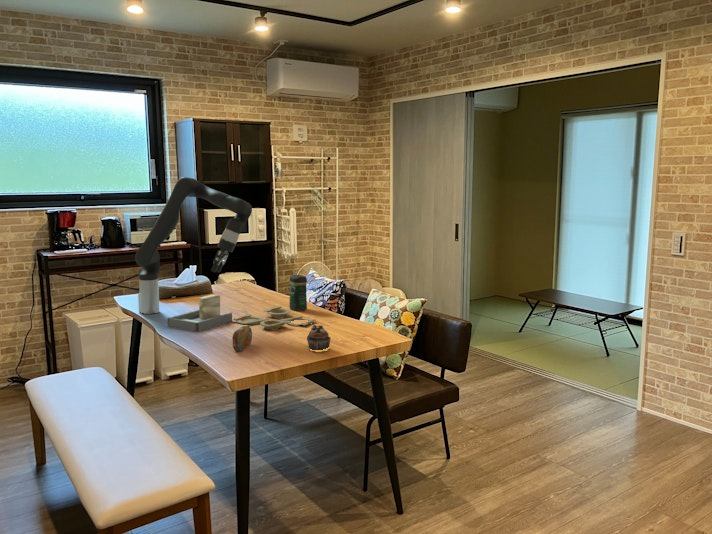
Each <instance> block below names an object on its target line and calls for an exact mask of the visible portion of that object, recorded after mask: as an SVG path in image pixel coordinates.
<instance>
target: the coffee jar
mask: <svg viewBox="0 0 712 534" xmlns="http://www.w3.org/2000/svg"><path fill="white" fill-rule="evenodd" d="M307 278H308V277H306V276H305V275H300V274H291V275H290V276H289V280H288V281H289V305H288V306H289V310H293V311H295V312H296V311H300V310H303V311H306V310H307V309H308V303H307V302H308V298H307V285H308V280H307ZM305 309H306V310H305Z"/></svg>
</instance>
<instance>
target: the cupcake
mask: <svg viewBox="0 0 712 534" xmlns="http://www.w3.org/2000/svg"><path fill="white" fill-rule="evenodd" d="M329 335H330V334H329V332H328V331H327V330H326V329H325V328H324V326H323V325H314V324H313V326H312V327H311V328H310V331H309V332H308V334H307V337H306V341H307V344H308V349H309V348H310V349H312V350H323V349H326V348H328V347H329V348H330V345H331V344H330V343H331V339H332V338H331V337H330V336H329Z"/></svg>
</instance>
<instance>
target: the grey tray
mask: <svg viewBox="0 0 712 534" xmlns="http://www.w3.org/2000/svg"><path fill="white" fill-rule="evenodd" d="M232 321H233V312H228V313H225V314H220V315H219V316H216V317H213V318H209V319H201V318H200V311H199V309H197V310H196V309H195V310H193V311H189V312H185V313H183V314H177V315H174V316H171V317H170V316H169V317H167V327H168V326H170V327H169V328H173V327H174V328H175V329H178V328H180V330H184V329H185V331H190V332H195V333H198V332H201V331H204V329H205V330H208V329H210V327H211V328H214V327H218V326H220V324H221V325H223V323H224V324H227V323H230V322H232ZM207 328H208V329H207Z"/></svg>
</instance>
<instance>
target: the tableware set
mask: <svg viewBox="0 0 712 534" xmlns="http://www.w3.org/2000/svg"><path fill="white" fill-rule="evenodd" d="M263 312H266V313H267V314H269V315H270V316H271V318H273V317H274V318H273V319H270V318H268V317H267V318H263V317H260V316H253V314H252V313H251V314H250V313H245V314H244V315H242V316H238V317H235V318H233V321H236V323H237V324H239V325H246V326H250V325H258V324H259V325H260V326H262V327H264V329H266V330H268V329H270V330H269V331H273V330H272V329H277V330H279V328H280V329H281V327H283V326H285V325H288V324H290V325H289V326H291V325H303V326H302V327H306V326H305V325H308V324H311V323H313V322H314V323H315V322H316V321H317V319H316V318H315V319H314V318H312V319H311V318H305V317H304V318H303V315H301V316H293V317H288V318H285V316H286V317H287V315H288V314H290V312H291V309H287V308H283V307H282V305H279V306H276V307H272V308H267V309H266V308H264V309H263ZM281 317H284V318H281ZM294 320H308V322H306V323H301V324H294V323H291V321H294ZM314 323H313V324H314ZM311 325H312V324H311ZM308 326H309V325H308Z"/></svg>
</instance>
